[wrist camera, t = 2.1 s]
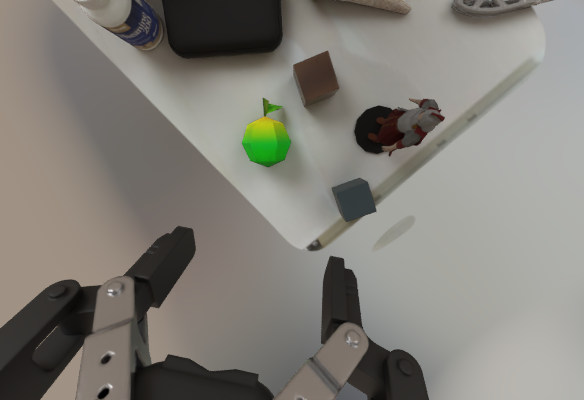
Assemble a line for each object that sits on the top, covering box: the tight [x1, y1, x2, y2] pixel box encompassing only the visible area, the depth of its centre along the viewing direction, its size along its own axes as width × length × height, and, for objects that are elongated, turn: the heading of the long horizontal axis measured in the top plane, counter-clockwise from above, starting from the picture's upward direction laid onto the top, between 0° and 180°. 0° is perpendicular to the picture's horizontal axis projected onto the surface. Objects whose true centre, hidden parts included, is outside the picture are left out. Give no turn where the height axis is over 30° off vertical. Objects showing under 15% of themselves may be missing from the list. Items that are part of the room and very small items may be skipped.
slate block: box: [332, 178, 376, 222], centre depth 34 cm, size 4×4×4 cm
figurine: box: [354, 98, 445, 156], centre depth 26 cm, size 7×7×15 cm
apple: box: [242, 98, 291, 167], centre depth 31 cm, size 7×6×9 cm
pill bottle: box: [74, 0, 163, 50], centre depth 26 cm, size 5×5×10 cm
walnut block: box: [293, 51, 339, 107], centre depth 30 cm, size 4×4×4 cm
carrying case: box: [162, 0, 283, 58], centre depth 29 cm, size 11×3×15 cm
